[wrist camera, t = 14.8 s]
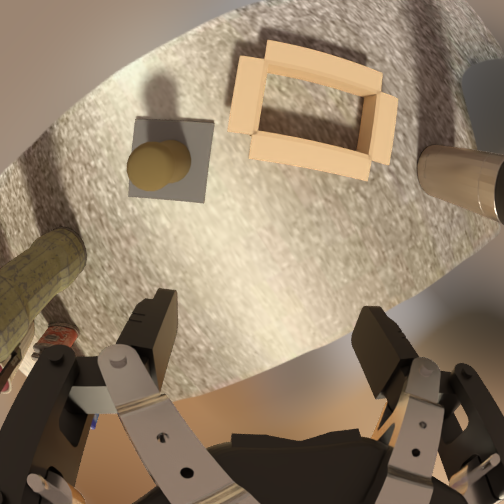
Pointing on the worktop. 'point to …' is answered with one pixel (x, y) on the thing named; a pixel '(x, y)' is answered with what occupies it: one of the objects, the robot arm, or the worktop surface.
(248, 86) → the carton
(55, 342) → the lighter
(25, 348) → the canister
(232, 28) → the worktop surface
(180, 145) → the cork
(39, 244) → the thermos
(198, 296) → the worktop surface
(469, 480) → the robot arm
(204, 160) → the mat
